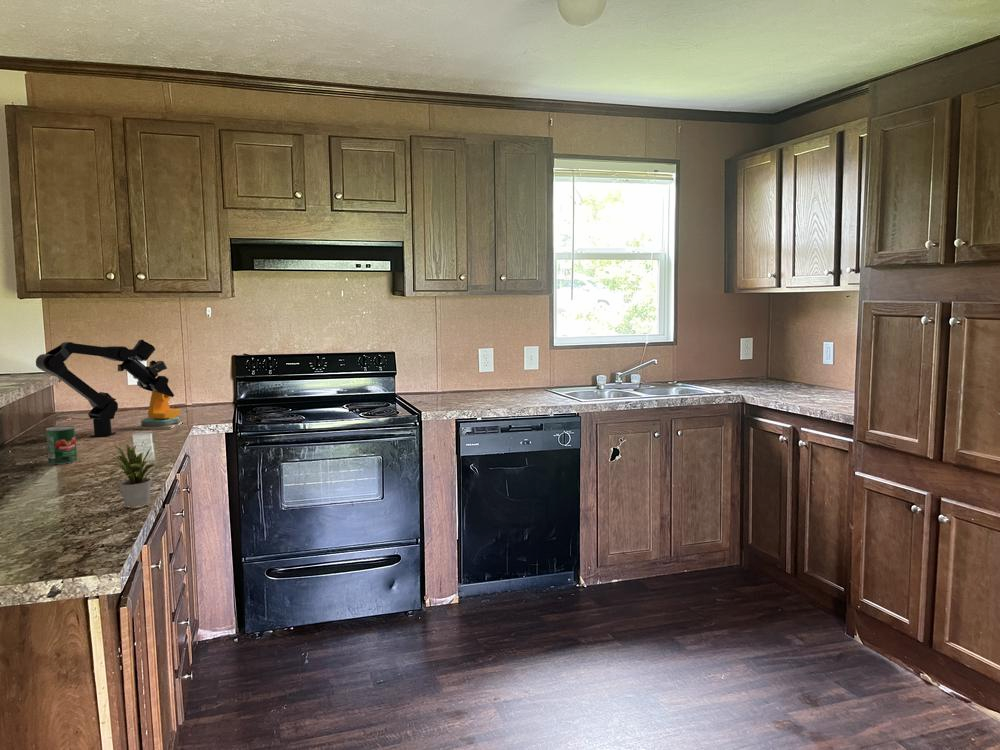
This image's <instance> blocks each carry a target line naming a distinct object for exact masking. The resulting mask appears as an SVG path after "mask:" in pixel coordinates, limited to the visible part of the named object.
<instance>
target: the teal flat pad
mask: <svg viewBox="0 0 1000 750" xmlns="http://www.w3.org/2000/svg"><path fill="white" fill-rule="evenodd" d="M184 422H186V423H187V421H186V420H180V417H179V416H178V417H176V418H172V419H153V418H148V417H146V418H143V419H141V420H140V425H137V426H134V430H135V429H158V430H172V429H171V428H173V427H175V426H177V427H179V426H178V425H180V424H182V423H184ZM184 424H185V423H184ZM182 425H183V424H182ZM180 426H181V425H180ZM175 428H176V427H175ZM173 429H174V428H173Z"/></svg>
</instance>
